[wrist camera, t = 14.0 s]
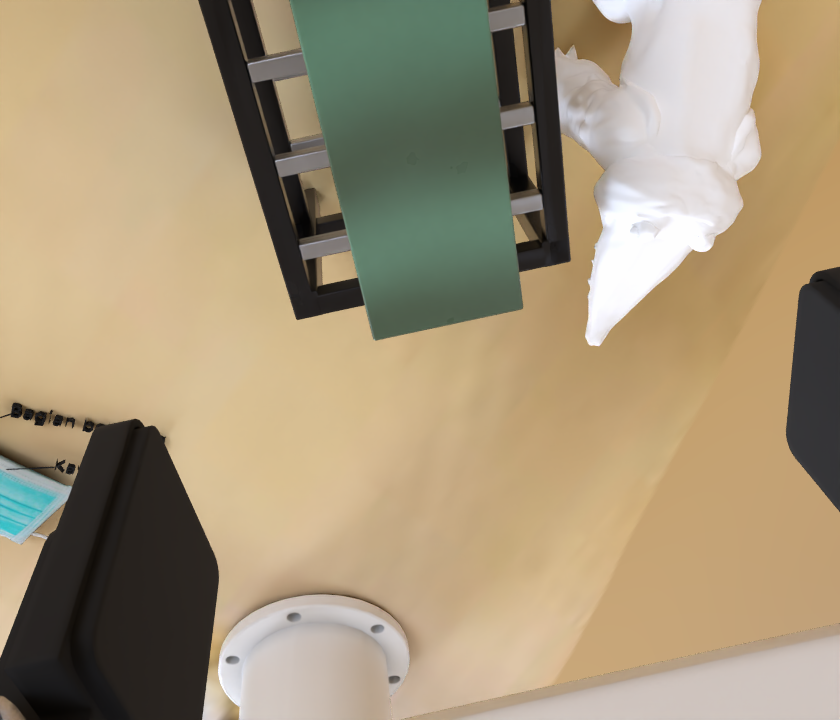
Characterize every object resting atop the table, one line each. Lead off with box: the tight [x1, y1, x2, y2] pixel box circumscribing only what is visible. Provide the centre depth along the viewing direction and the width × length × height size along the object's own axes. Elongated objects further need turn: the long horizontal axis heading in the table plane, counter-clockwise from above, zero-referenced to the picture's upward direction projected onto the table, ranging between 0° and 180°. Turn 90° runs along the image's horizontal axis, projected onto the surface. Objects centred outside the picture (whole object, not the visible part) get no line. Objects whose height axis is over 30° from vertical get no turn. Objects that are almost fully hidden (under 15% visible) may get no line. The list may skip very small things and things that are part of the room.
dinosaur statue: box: [555, 0, 762, 346], centre depth 29 cm, size 7×24×11 cm, turn 167°
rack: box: [198, 0, 571, 320], centre depth 29 cm, size 14×10×10 cm
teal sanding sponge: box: [289, 0, 523, 340], centre depth 22 cm, size 11×4×5 cm, turn 10°
